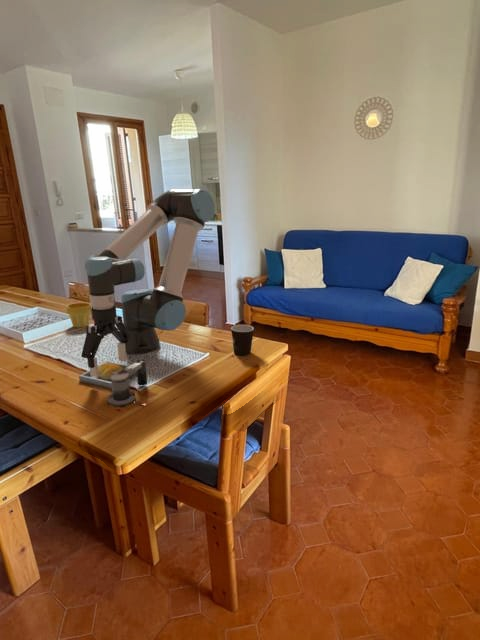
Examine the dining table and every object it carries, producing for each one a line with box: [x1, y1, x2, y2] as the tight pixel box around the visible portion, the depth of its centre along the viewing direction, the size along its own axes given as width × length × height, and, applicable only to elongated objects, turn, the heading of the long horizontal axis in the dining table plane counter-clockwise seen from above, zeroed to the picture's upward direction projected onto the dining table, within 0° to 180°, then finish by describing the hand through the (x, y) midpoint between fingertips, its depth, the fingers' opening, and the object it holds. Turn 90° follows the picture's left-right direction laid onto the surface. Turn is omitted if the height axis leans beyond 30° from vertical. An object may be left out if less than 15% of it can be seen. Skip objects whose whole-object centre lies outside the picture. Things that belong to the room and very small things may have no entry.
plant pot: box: [66, 302, 92, 329], centre depth 189 cm, size 10×10×10 cm
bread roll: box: [98, 362, 124, 380], centre depth 137 cm, size 8×9×4 cm
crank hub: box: [107, 379, 147, 408], centre depth 121 cm, size 12×8×7 cm, turn 66°
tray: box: [78, 360, 137, 390], centre depth 138 cm, size 14×14×2 cm
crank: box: [111, 359, 148, 386], centre depth 126 cm, size 14×5×8 cm, turn 156°
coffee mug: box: [230, 324, 255, 357], centre depth 159 cm, size 12×9×10 cm
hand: (109, 368), depth 137 cm, fingers open, 13 cm apart
